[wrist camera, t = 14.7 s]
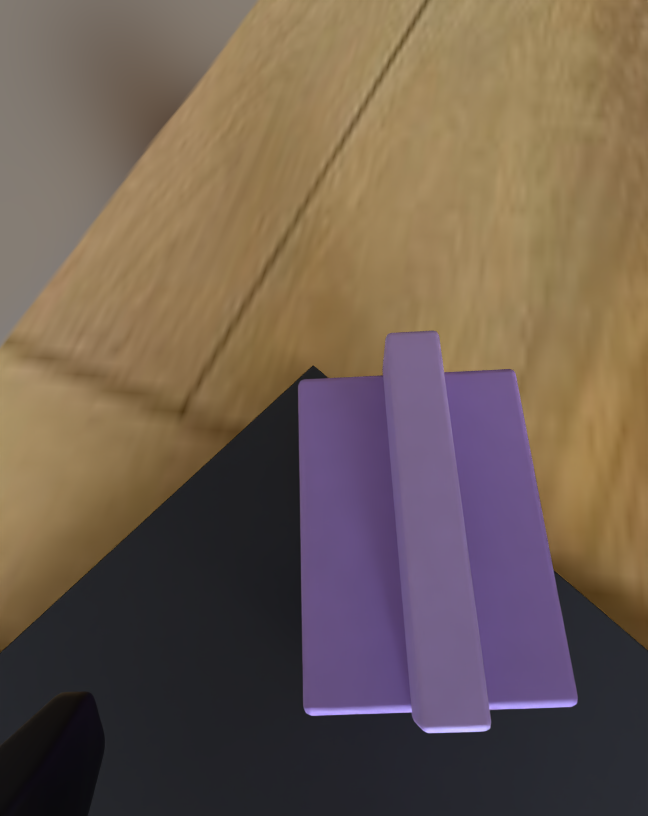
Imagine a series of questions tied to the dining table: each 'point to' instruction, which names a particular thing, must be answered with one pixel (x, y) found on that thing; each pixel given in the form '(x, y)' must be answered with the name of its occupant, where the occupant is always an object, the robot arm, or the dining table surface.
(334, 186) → the dining table surface
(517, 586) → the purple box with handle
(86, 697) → the robot arm
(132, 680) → the placemat
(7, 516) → the dining table surface
